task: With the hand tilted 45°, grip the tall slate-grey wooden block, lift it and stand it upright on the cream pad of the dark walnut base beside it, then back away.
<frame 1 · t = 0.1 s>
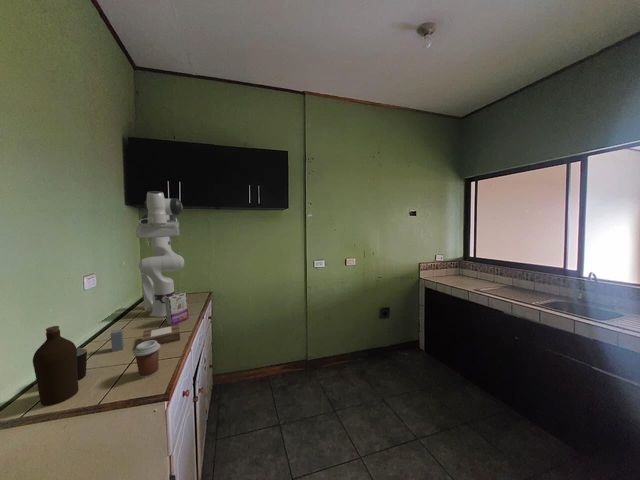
hand: (159, 245, 142), 48 cm above the counter, tool pointing down, fingers open, 8 cm apart
walnut base: (162, 339, 132), on the counter
slate block: (118, 349, 123), on the counter
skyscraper: (150, 308, 184), on the counter
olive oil: (60, 397, 90), on the counter
candy bar box: (177, 321, 156), on the counter
coffee mug: (72, 378, 101), on the counter
coffee cup: (149, 373, 102), on the counter
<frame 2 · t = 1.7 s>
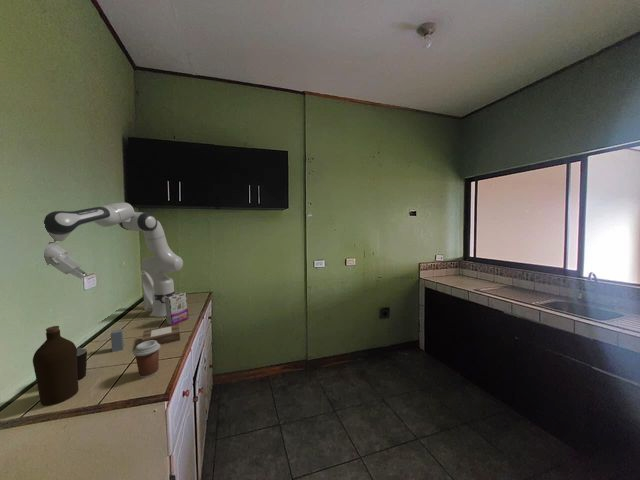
hand: (84, 276, 116), 37 cm above the counter, tool tilted 40°, fingers open, 8 cm apart
nothing on the counter moved.
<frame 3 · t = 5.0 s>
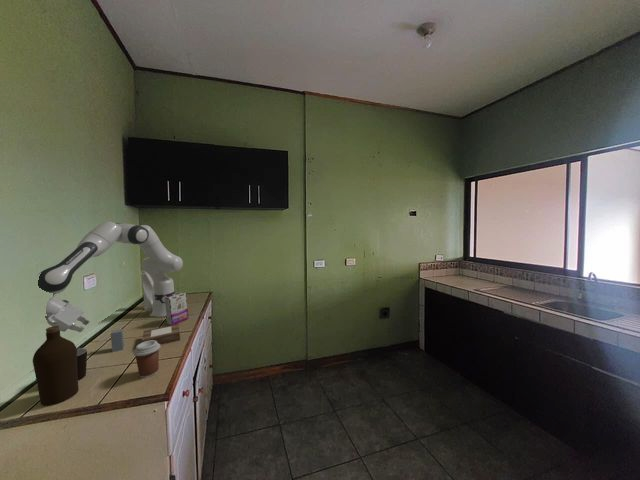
hand: (85, 326, 117), 14 cm above the counter, tool tilted 45°, fingers open, 8 cm apart
nothing on the counter moved.
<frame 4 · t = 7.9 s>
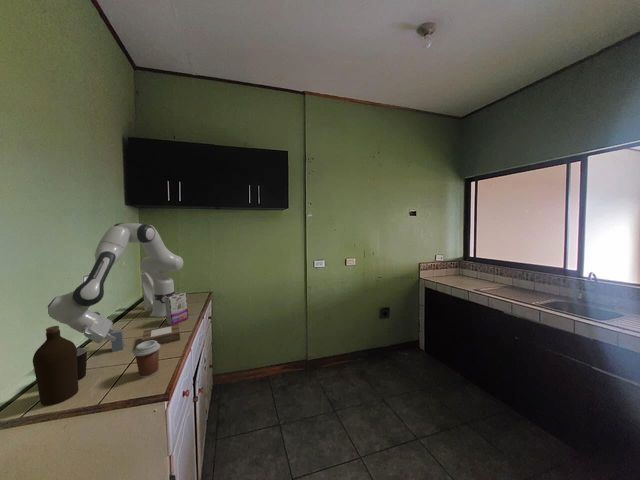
hand: (116, 337, 123), 6 cm above the counter, tool tilted 45°, fingers closed on slate block, 4 cm apart
slate block: (118, 349, 123), on the counter, touching gripper
everything else where it was.
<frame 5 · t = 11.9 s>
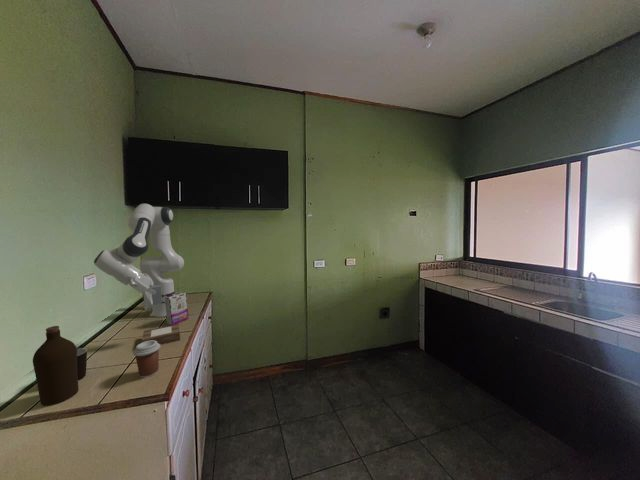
hand: (155, 292, 130), 25 cm above the counter, tool tilted 45°, fingers closed on slate block, 4 cm apart
slate block: (157, 303, 131), point 19 cm above the counter, touching gripper
everything else where it was.
when the fingers open (12 cm above the counter, at t = 15.7 s): slate block drops 1 cm, resting on walnut base.
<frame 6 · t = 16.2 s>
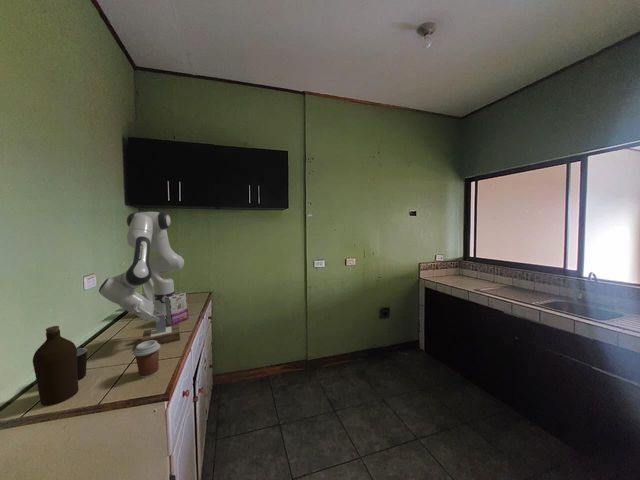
hand: (159, 317, 131), 12 cm above the counter, tool tilted 45°, fingers open, 8 cm apart
slate block: (161, 331, 132), point 4 cm above the counter, touching walnut base
everything else where it was.
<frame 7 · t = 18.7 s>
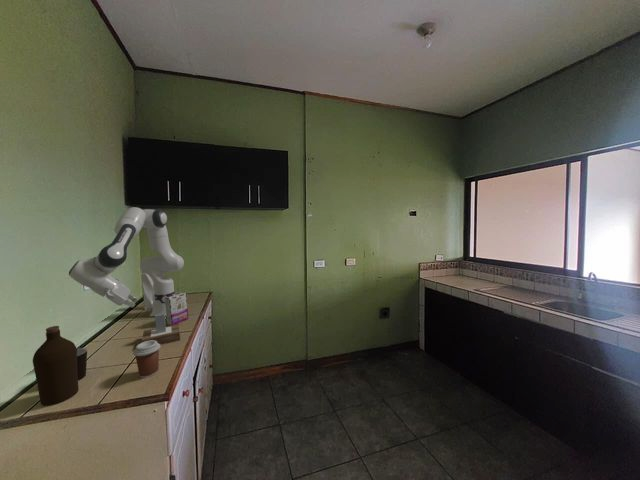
hand: (135, 303, 126), 21 cm above the counter, tool tilted 45°, fingers open, 8 cm apart
nothing on the counter moved.
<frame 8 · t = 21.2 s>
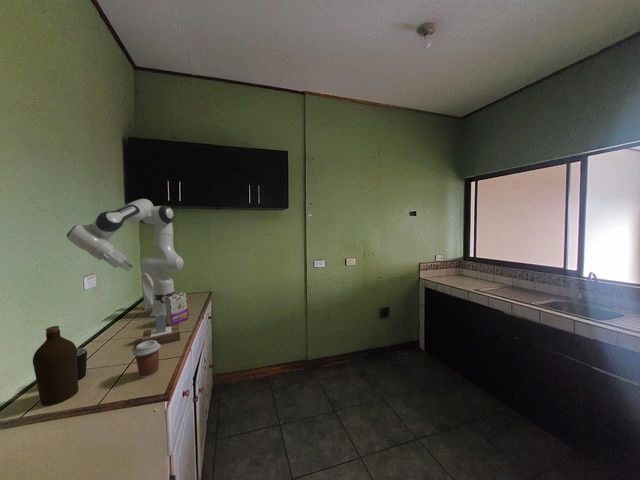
hand: (130, 268, 131), 37 cm above the counter, tool tilted 45°, fingers open, 8 cm apart
nothing on the counter moved.
at the end: slate block inside the target area on the walnut base (0.1 cm from its centre), point 4.2 cm above the walnut base's base; slate block tilted 0°; the gripper is holding nothing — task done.
